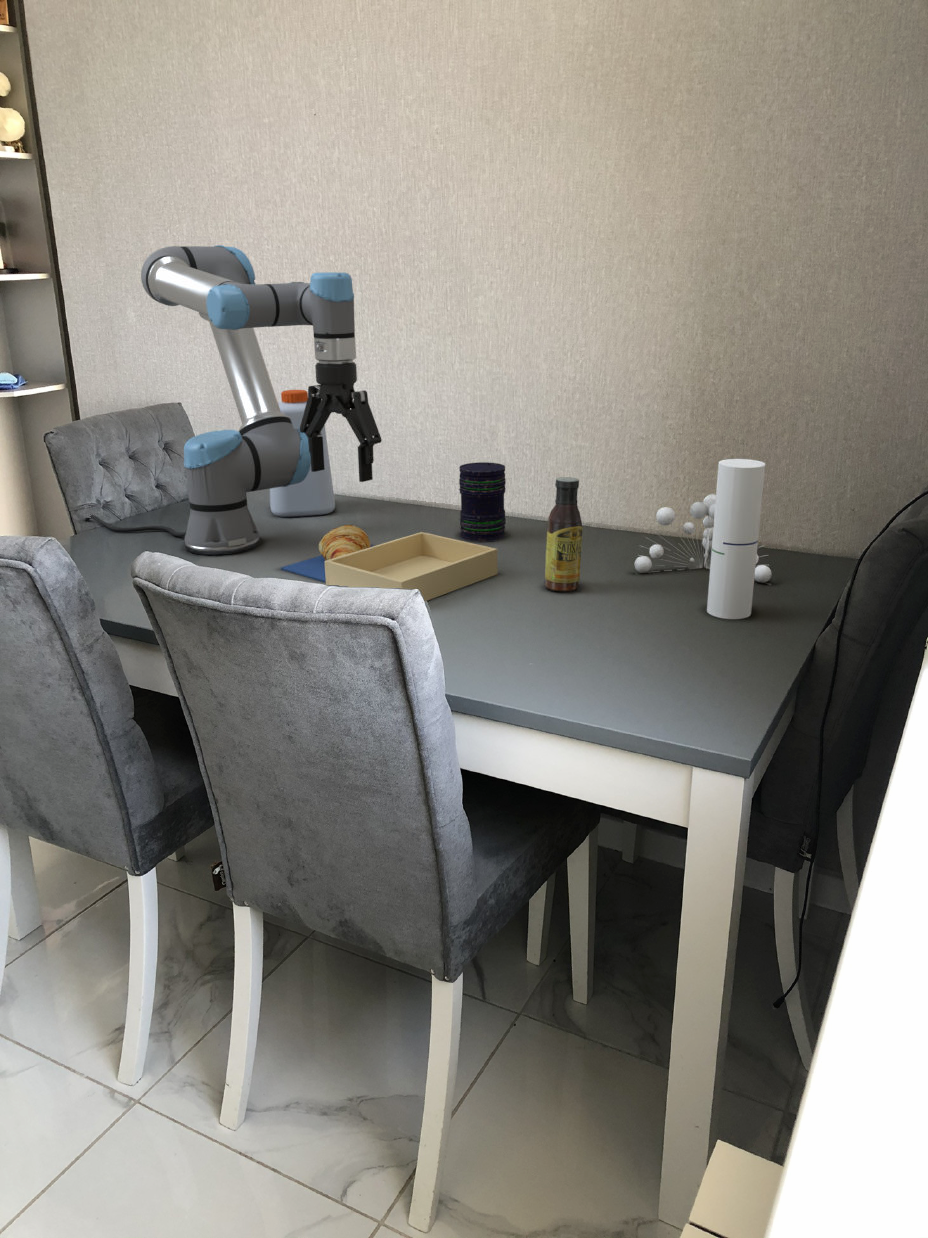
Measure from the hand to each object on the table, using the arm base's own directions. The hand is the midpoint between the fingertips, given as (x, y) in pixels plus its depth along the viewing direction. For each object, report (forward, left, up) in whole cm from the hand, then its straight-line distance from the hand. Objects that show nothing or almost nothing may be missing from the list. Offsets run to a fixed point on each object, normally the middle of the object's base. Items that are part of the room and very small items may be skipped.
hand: (341, 475), depth 185 cm
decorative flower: (+54, +38, -18) cm, 69 cm away
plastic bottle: (-41, +23, -18) cm, 50 cm away
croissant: (0, 0, -17) cm, 17 cm away
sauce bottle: (+42, +14, -18) cm, 48 cm away
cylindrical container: (+71, +21, -18) cm, 76 cm away
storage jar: (+8, +32, -18) cm, 37 cm away
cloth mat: (0, 0, -17) cm, 17 cm away
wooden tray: (+18, 0, -17) cm, 25 cm away
